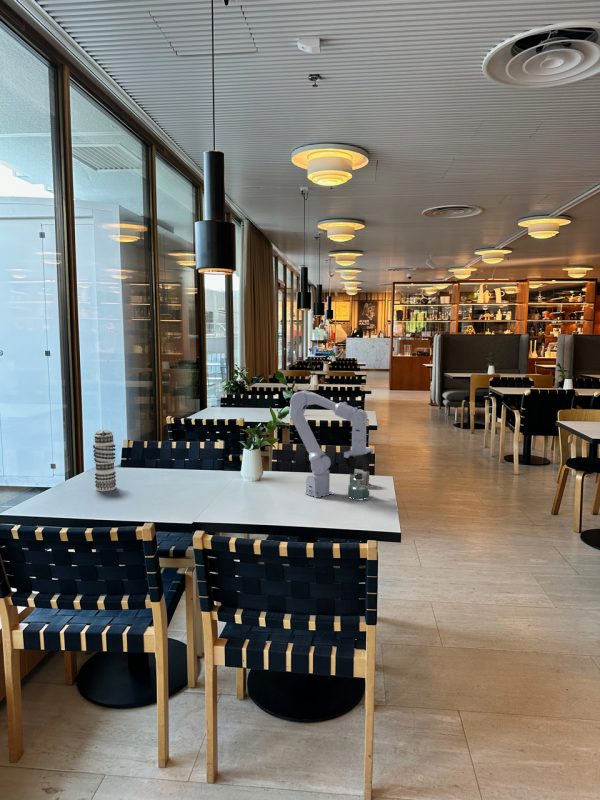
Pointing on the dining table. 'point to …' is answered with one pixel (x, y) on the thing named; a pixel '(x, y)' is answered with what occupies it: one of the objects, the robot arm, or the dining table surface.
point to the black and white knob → (358, 478)
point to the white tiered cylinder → (104, 461)
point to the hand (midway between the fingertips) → (358, 472)
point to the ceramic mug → (364, 475)
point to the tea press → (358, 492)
